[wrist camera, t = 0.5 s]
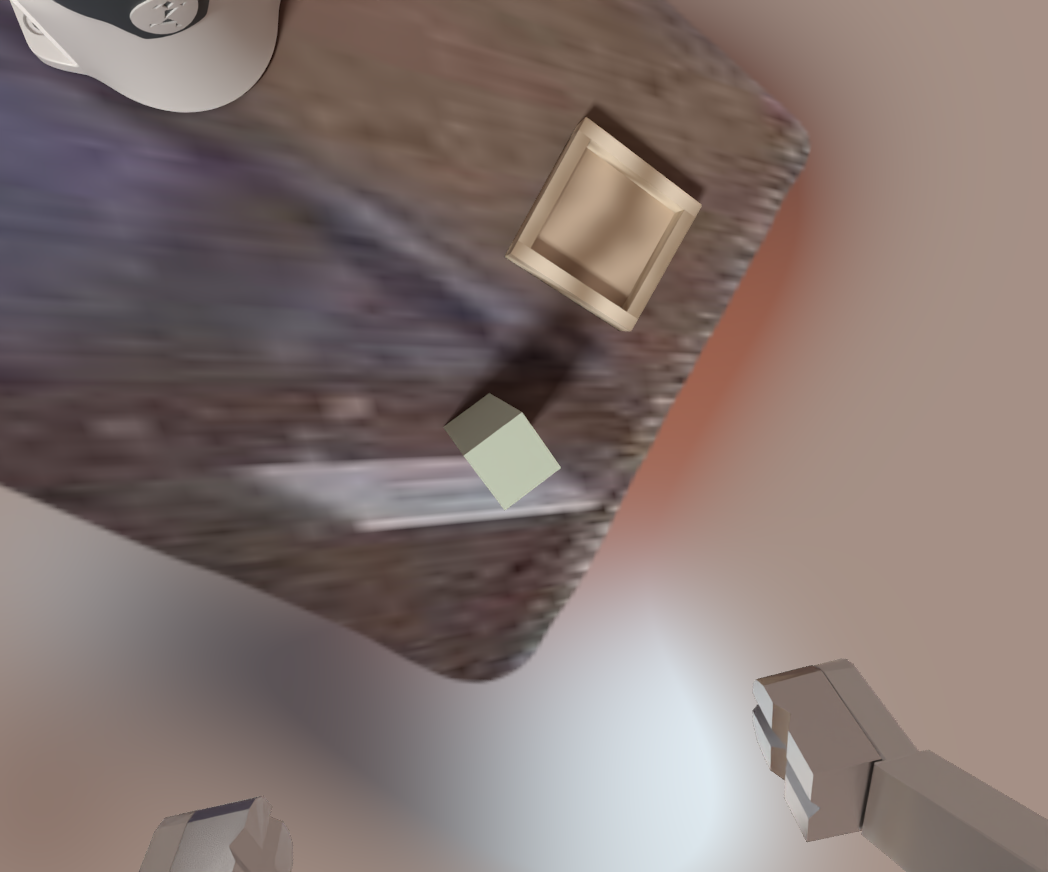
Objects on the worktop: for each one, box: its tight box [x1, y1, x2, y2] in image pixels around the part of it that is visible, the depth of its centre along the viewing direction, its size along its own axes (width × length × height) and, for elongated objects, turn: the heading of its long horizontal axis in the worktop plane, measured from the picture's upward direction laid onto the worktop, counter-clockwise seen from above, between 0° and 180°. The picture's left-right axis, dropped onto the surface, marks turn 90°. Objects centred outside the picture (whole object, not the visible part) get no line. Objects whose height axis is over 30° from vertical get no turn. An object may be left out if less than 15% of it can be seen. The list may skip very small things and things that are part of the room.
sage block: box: [444, 393, 561, 510], centre depth 47 cm, size 5×5×12 cm
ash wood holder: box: [504, 117, 702, 331], centre depth 51 cm, size 12×12×2 cm
